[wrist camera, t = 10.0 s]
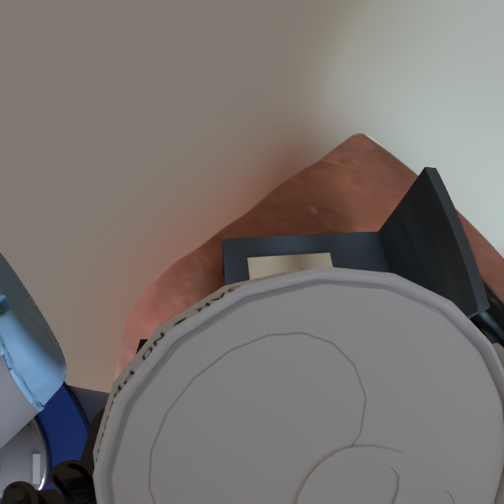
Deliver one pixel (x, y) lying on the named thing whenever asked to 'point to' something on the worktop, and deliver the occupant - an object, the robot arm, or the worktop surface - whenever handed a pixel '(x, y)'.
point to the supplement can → (308, 399)
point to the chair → (379, 249)
